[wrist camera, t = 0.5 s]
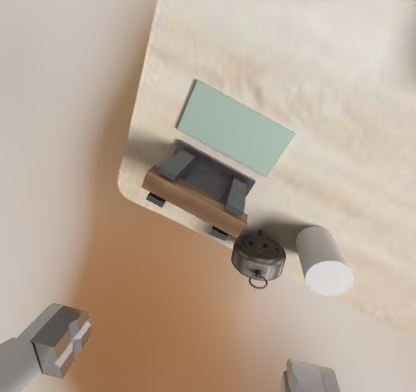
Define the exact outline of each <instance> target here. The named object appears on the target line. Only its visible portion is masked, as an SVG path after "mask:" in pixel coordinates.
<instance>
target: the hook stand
mask: <svg viewBox="0 0 416 392" xmlns="http://www.w3.org/2000/svg"><path fill="white" fill-rule="evenodd" d="M158 173H160V174H162V175H164V176H166V177H168V178H169V179H171V180H173V181H175V180H176V179H177V177H178V178H180V179H182V180H184V181H185V182H187V183H189V184H191V185H193V186H195V187H197V188H198V189H200V190H202V191H204V192H206V193H208V194H210V195H211V196H213V197H215V198H217V199H219V200H221V201H223V202H224V203H225V207H224V208H225V209H227V210H229V211H231V212H233V213H235V214H236V215H238V216H240V217H241V216H242V214H243V213H244V206H245V197H246V196H247V194H248V193H249V191H250V190H251V188H252V186H253V185H254V183H255V180H254V179H252V178H250V177H248V176H246V175H244V174H243V173H241V172H239V171H237V170H235V169H233V168H231V167H230V166H228V165H226V164H224V163H222V162H220V161H219V160H217V159H215V158H213V157H211V156H209V155H208V154H206V153H204V152H202V151H200V150H198V149H196V148H195V147H193V146H191V145H189V144H187V143H185V142H184V141H182V140H181V141H179V144H178V146H177V148H176V150H175V153H174V155H173V157H172V158H170V159H169V160H168V161H166V162H165V163H164V164H162V165H161V166H160V167H159V169H158ZM146 199H147V200H148V201H150V202H152V203H154V204H156V205H158V206H160V207H163V206H164V205H165V203H166V202H167V201H166V200H164V199H163V198H161V197H159V196H157V195H155V194H153V193H151V192H150V193H149V194H148V196H147V198H146ZM209 233H210V234H212V235H214V236H216V237H218V238H220V239H222V240H223V241H225V240H226V238H227V236H228V233H226V232H224V231H222V230H221V229H219V228H217V227H215V226H213V225H211V228H210V231H209Z"/></svg>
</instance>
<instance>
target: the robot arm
mask: <svg viewBox="0 0 416 392" xmlns="http://www.w3.org/2000/svg"><path fill="white" fill-rule="evenodd" d="M88 319H89V312H88V311H84V310H80V309H76V308H72V307H68V306H65V305H60V304H56V303H53V304H51V305H50V306H48V307H47V308H46V309H45V310H44V311H43V312H42V313H41V314H40V316H38V317H37V318H36V319H35V320H34V321H33V322H32V323H31V324H30V325H29V326H28V327H27V328H26V329H25V330H24V331H23V332H22V333H21V334H20V335H19V336H18V337H17V338H11V339H10V340H7V341H5V342H4V343H2V344H0V392H20V391H22V390H23V389H24V388H25V387H27V386H28V385H30V384H31V383H33V382H34V381H35V380H37V379H38V378H39V377H41V376H42V374H45V375H49V376H53V377H58V378H62V379H63V377H64V376H65V375H66V373H67V372H68V370H69V369H70V367H71V366H72V364H73V363H74V362H75V354H76V353H78V352H80V351H81V350H83V348H84V346H85V345H86V344H87V342H88V340H89V337H90V335H91V324H90V323H89V322H88V321H87V320H88ZM286 366H287V370H286V371H284V373H283V376H282V382H281V392H340V388H339V385H338V381H337V378H336V375H335V372H334V371H333V369H331V368H327V367H322V366H318V365H315V364H311V363H306V362H302V361H297V360H293V359H289V360H288V361H287V364H286Z"/></svg>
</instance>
